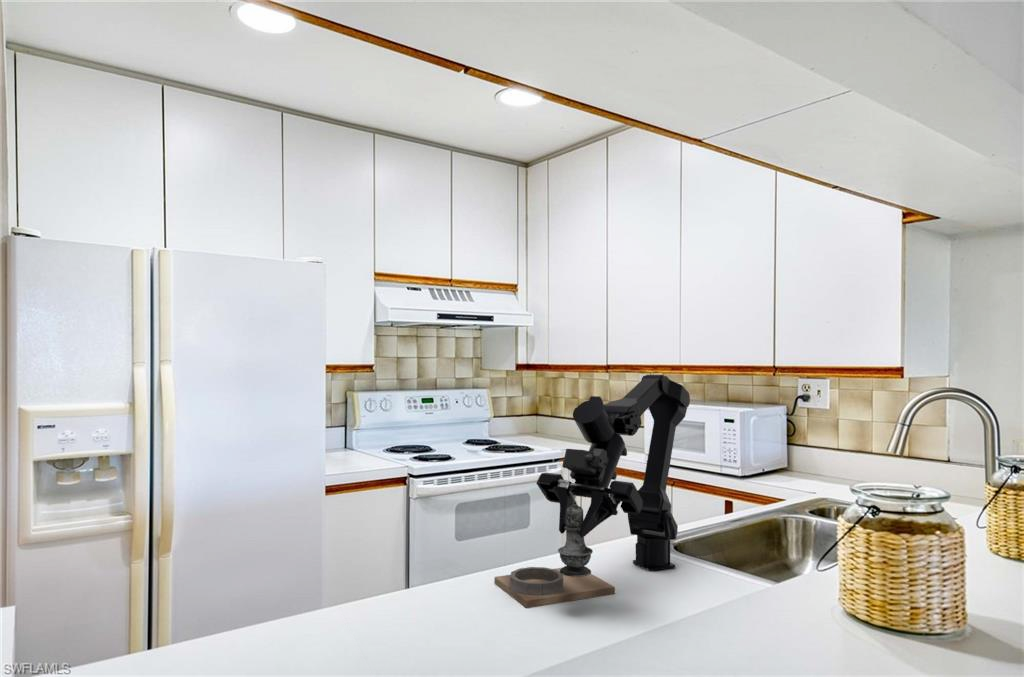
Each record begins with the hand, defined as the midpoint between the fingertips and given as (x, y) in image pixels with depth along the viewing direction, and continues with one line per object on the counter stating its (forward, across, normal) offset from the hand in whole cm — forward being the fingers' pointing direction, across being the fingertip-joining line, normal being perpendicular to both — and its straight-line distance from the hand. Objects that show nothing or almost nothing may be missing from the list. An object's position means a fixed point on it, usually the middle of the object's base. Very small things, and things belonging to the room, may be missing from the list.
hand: (570, 533), depth 107 cm
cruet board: (+3, -9, +16) cm, 19 cm away
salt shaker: (+4, 0, +6) cm, 7 cm away
